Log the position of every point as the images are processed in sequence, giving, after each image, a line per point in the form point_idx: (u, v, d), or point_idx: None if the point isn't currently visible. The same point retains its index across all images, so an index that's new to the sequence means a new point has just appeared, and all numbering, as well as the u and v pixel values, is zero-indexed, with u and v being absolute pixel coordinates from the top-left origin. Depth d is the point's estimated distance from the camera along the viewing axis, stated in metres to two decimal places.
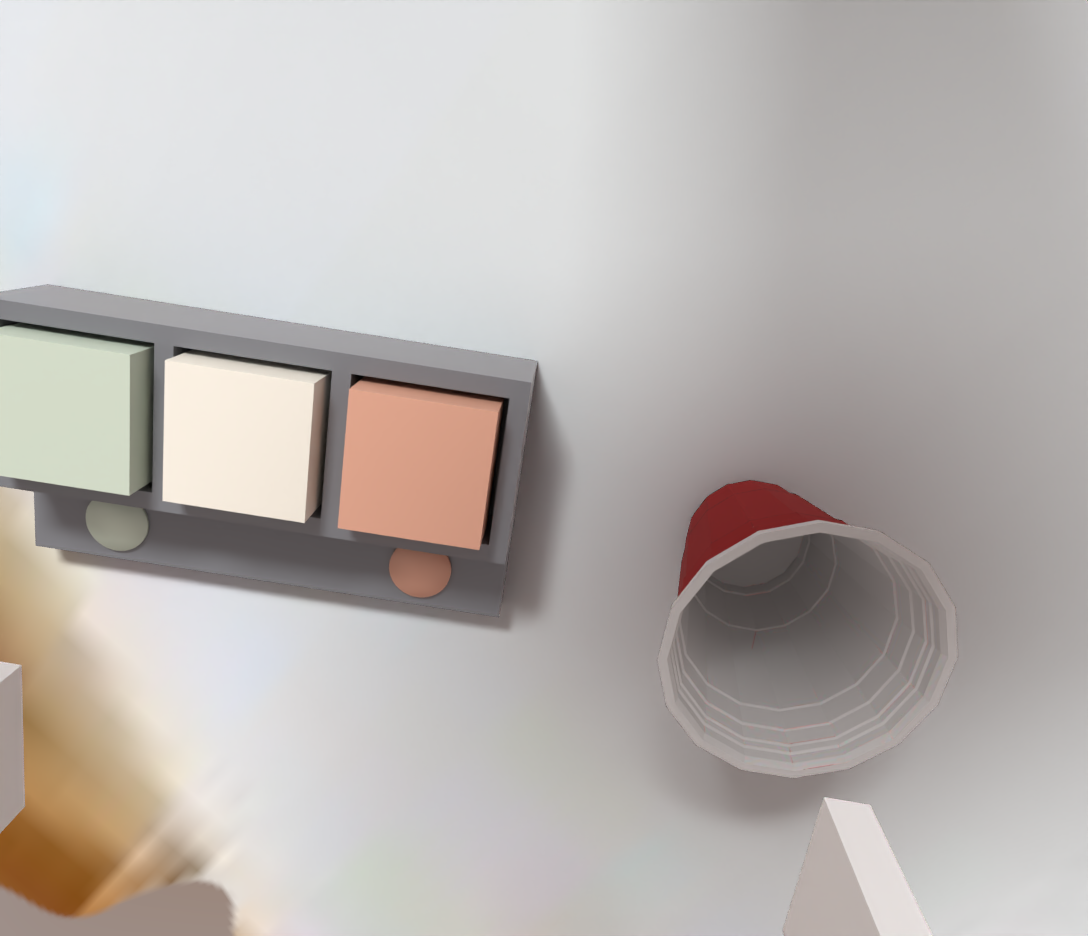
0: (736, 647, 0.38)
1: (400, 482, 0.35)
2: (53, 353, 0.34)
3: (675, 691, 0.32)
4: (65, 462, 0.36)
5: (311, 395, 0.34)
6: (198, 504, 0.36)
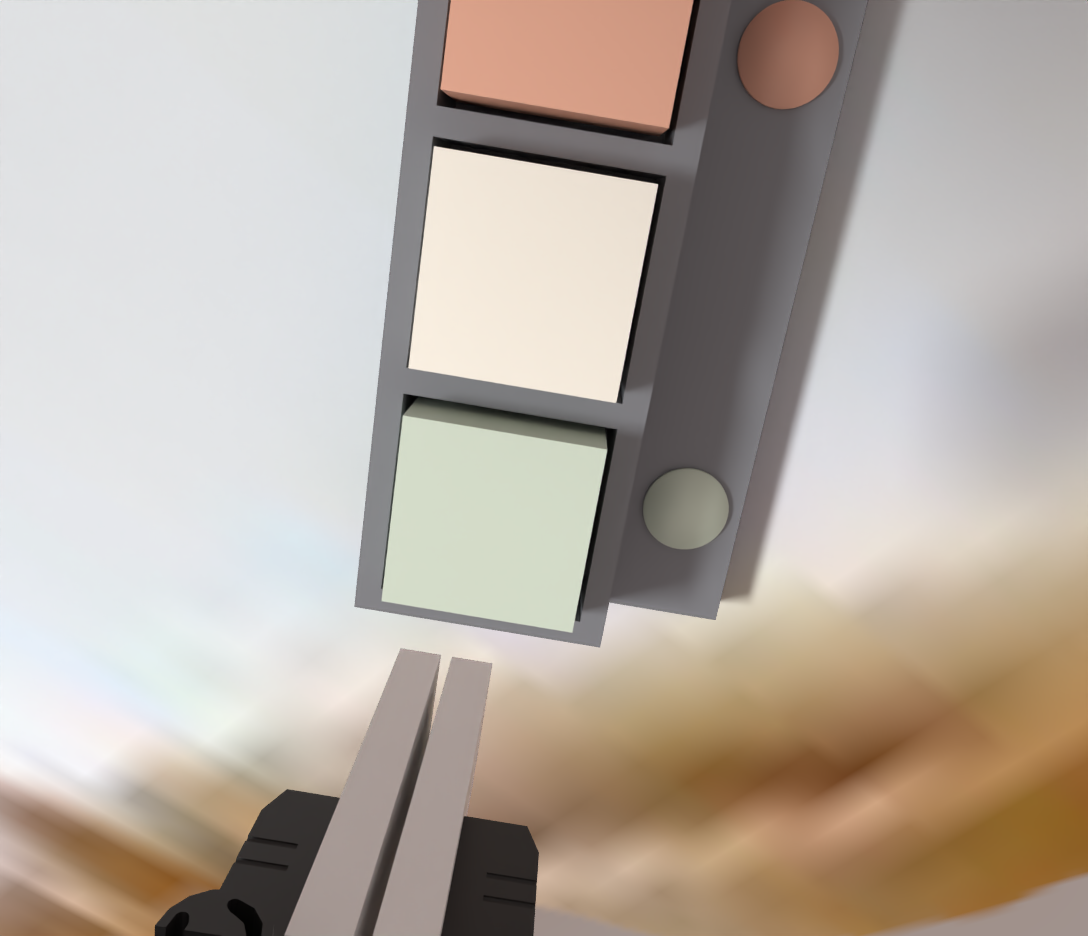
0: None
1: (592, 9, 0.22)
2: (405, 516, 0.26)
3: None
4: (556, 527, 0.26)
5: (451, 152, 0.23)
6: (622, 350, 0.24)
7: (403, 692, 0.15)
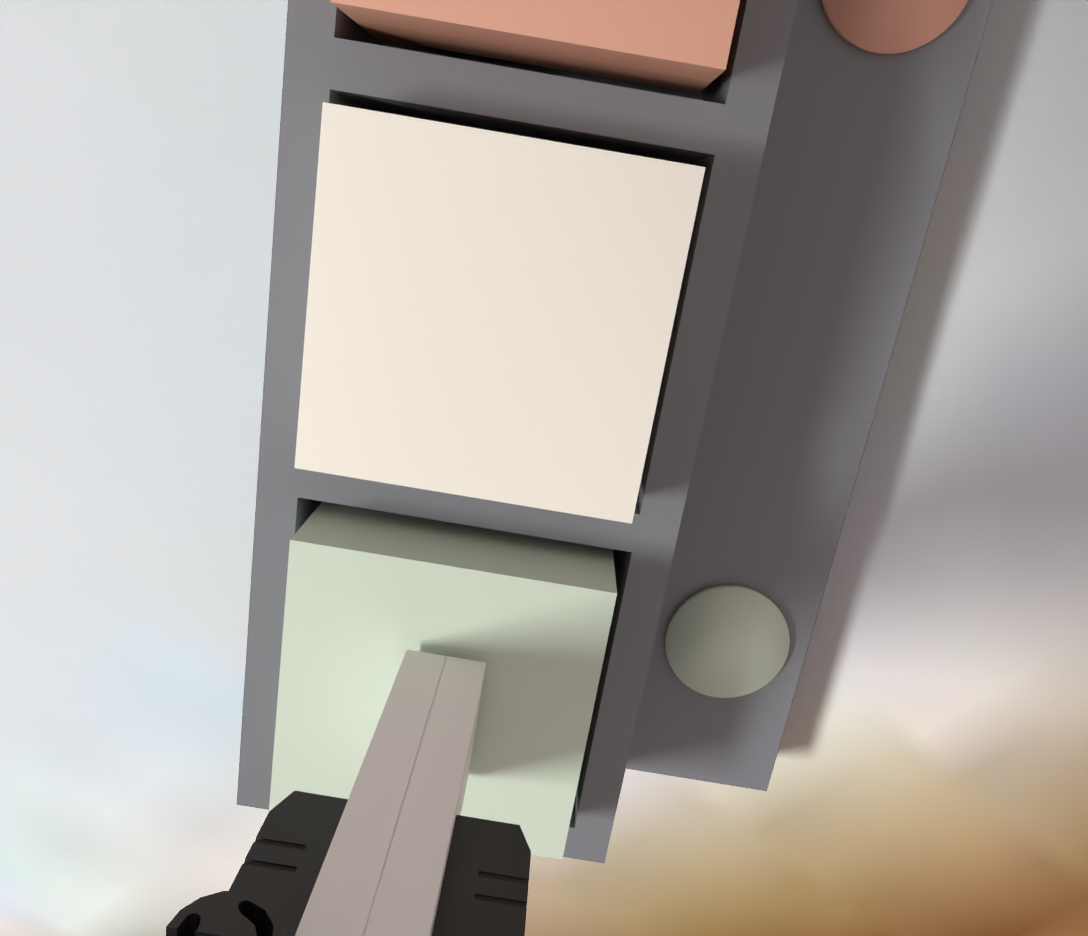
0: None
1: None
2: (300, 690, 0.16)
3: None
4: (537, 709, 0.16)
5: (353, 112, 0.13)
6: (643, 440, 0.15)
7: (409, 693, 0.15)
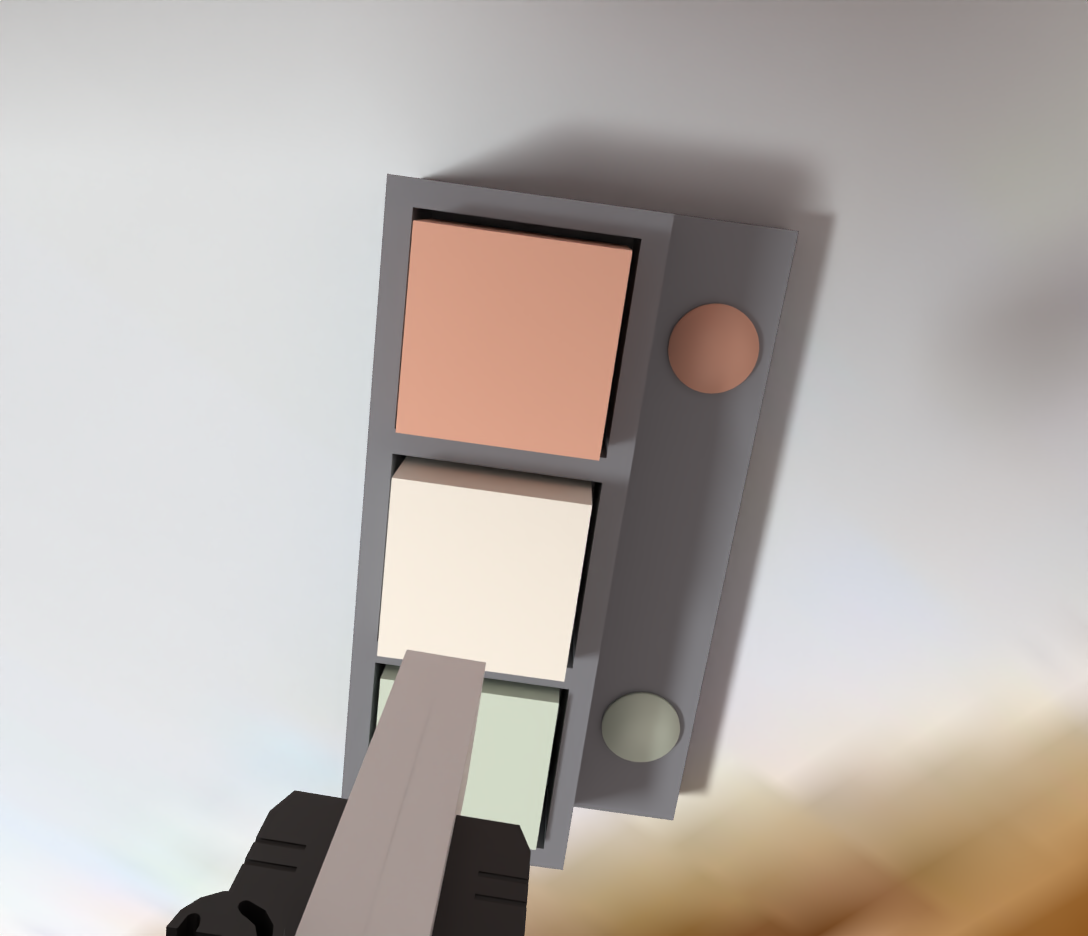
0: None
1: (526, 367, 0.24)
2: None
3: None
4: (517, 766, 0.29)
5: (407, 482, 0.26)
6: (567, 639, 0.27)
7: (410, 693, 0.15)
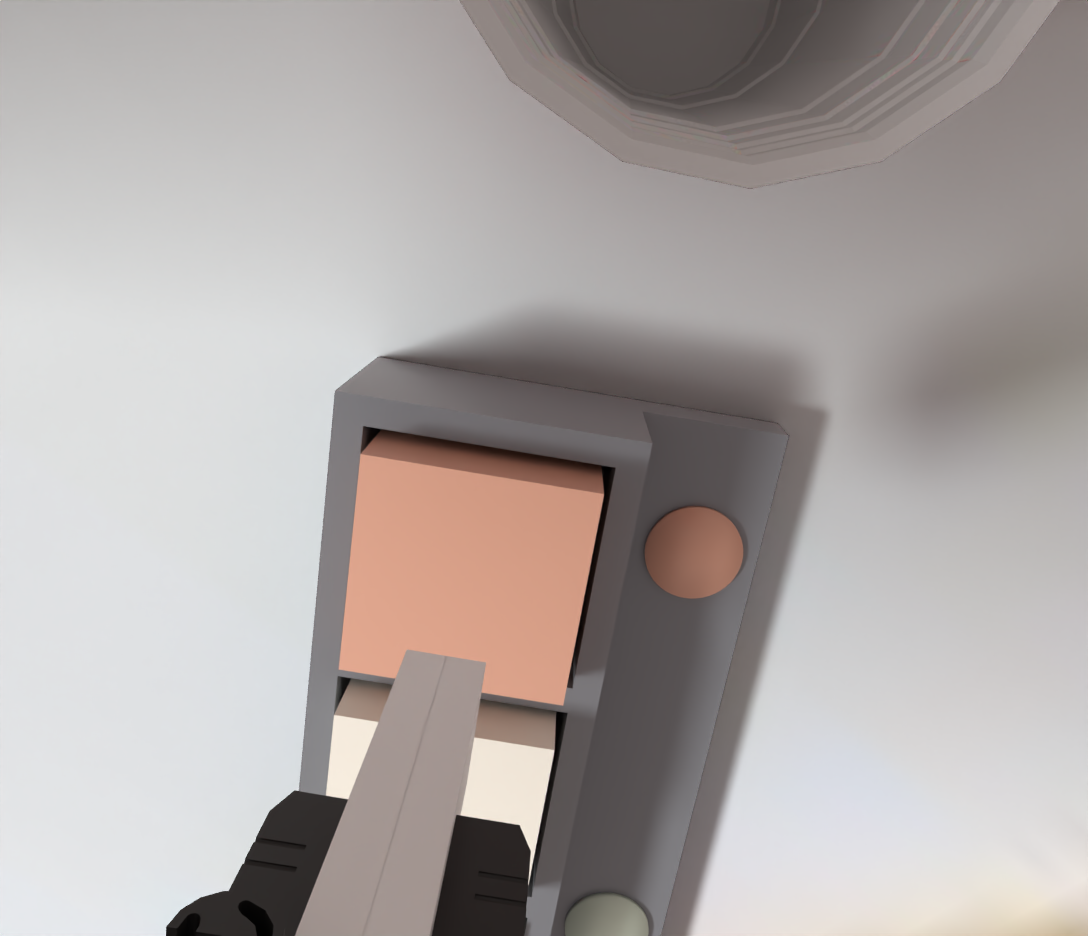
0: None
1: (484, 609, 0.22)
2: None
3: (844, 140, 0.14)
4: None
5: (352, 720, 0.23)
6: None
7: (410, 693, 0.15)
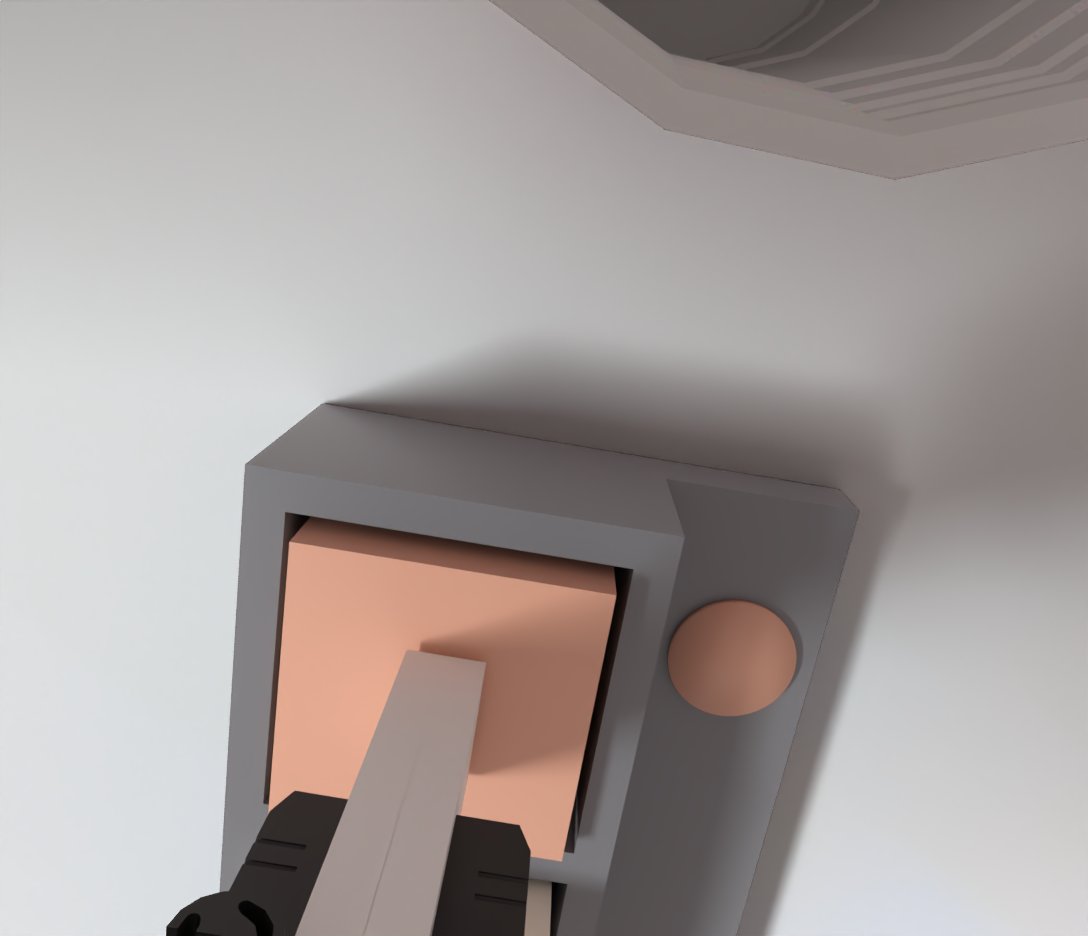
0: None
1: None
2: None
3: (1063, 91, 0.08)
4: None
5: None
6: None
7: (410, 692, 0.15)
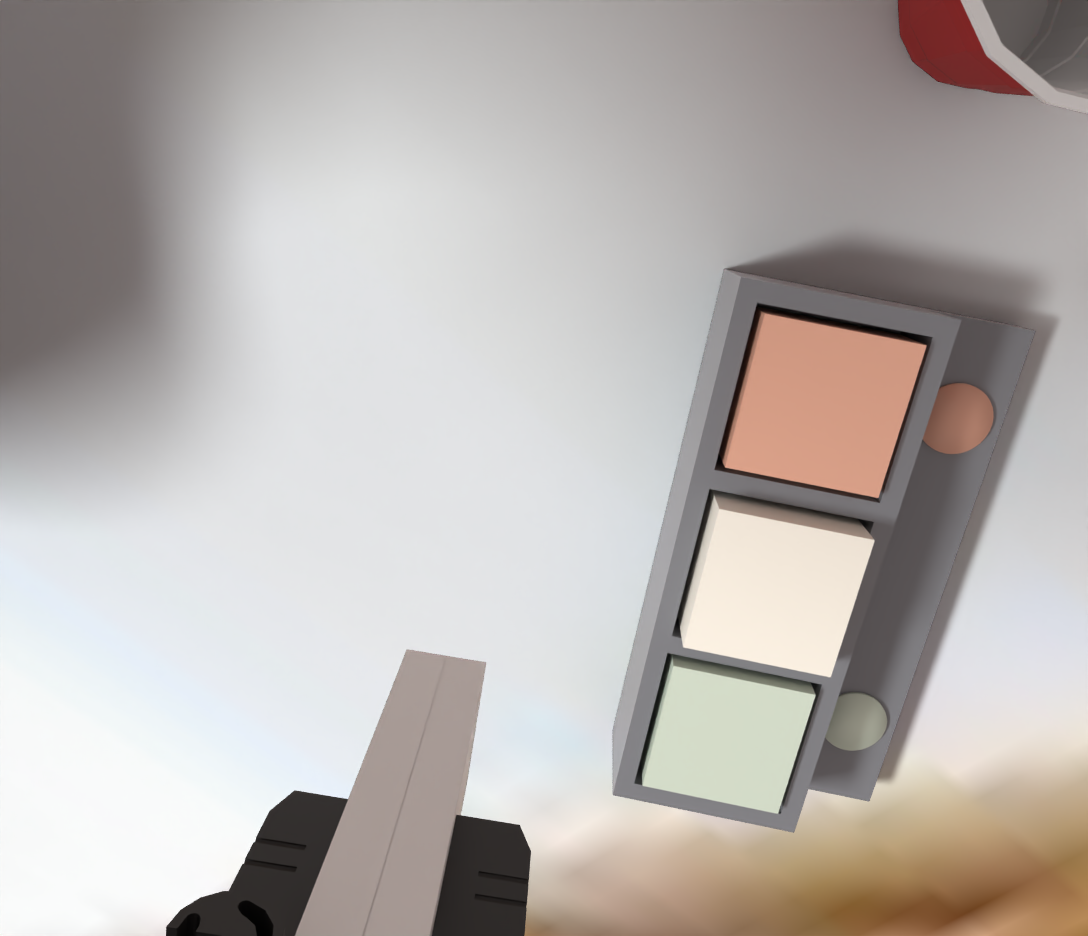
0: None
1: (833, 425, 0.33)
2: (667, 730, 0.37)
3: None
4: (774, 743, 0.36)
5: (731, 513, 0.33)
6: (839, 643, 0.34)
7: (410, 693, 0.15)
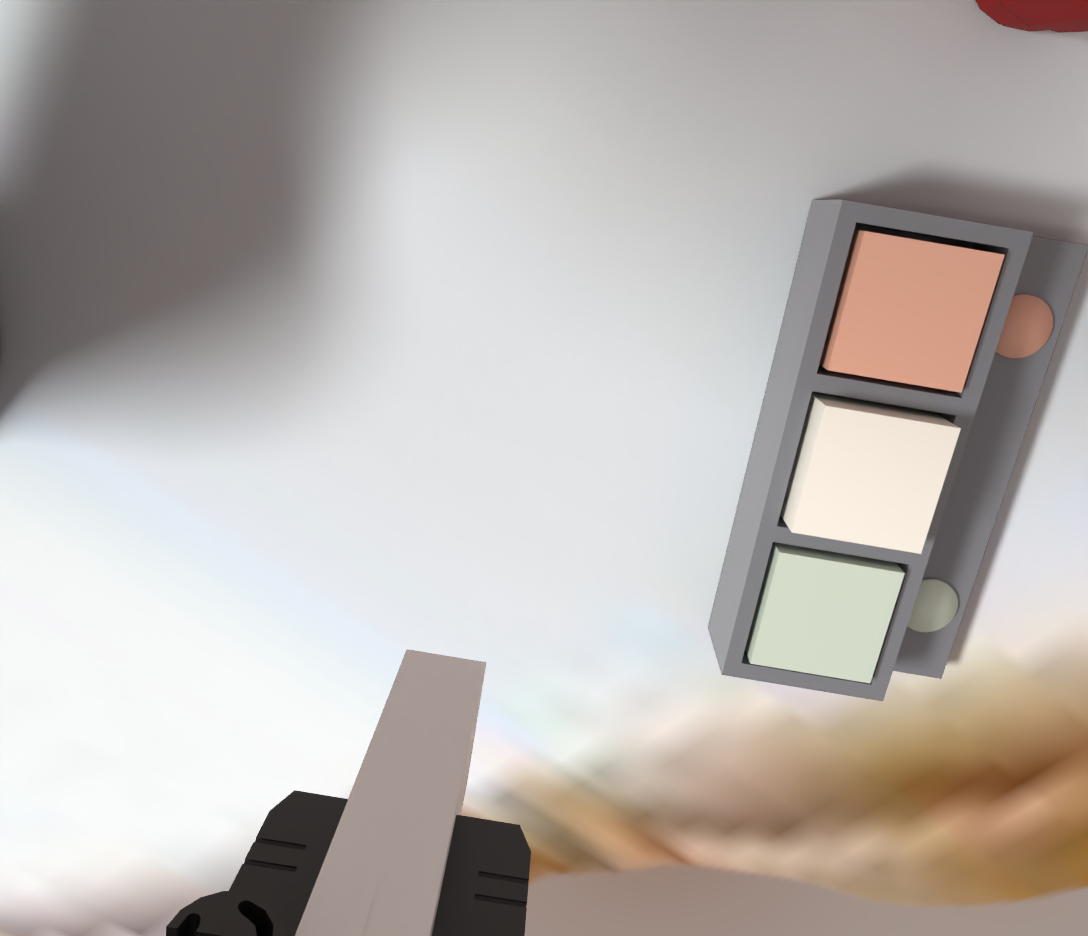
0: None
1: (923, 329, 0.37)
2: (773, 612, 0.41)
3: None
4: (867, 619, 0.41)
5: (836, 409, 0.37)
6: (928, 522, 0.39)
7: (410, 693, 0.15)
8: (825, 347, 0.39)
